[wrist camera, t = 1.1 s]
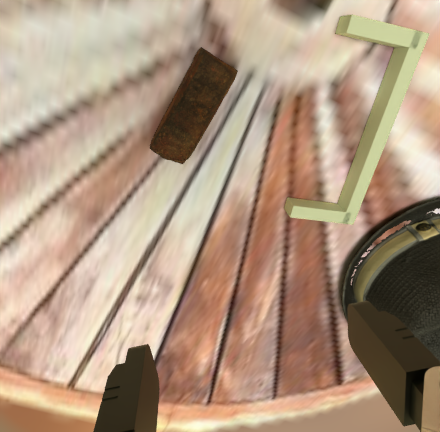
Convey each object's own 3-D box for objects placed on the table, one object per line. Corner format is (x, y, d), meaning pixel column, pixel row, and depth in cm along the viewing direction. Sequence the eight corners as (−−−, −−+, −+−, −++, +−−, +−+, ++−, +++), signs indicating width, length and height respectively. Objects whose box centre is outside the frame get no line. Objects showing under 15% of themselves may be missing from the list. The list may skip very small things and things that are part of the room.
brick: (198, 46, 33) (201, 46, 29) (232, 68, 34) (240, 72, 30) (150, 139, 37) (146, 152, 32) (182, 157, 38) (183, 171, 34)
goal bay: (284, 208, 42) (290, 217, 40) (340, 16, 33) (352, 14, 31) (344, 215, 44) (353, 224, 41) (413, 34, 35) (429, 33, 32)
